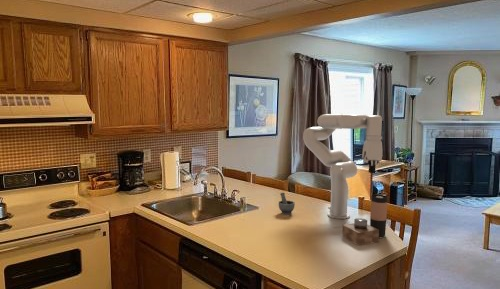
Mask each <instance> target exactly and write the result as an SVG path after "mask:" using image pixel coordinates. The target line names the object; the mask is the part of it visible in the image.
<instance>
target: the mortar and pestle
mask: <svg viewBox="0 0 500 289" xmlns="http://www.w3.org/2000/svg"><path fill="white" fill-rule="evenodd" d="M279 194H280V198H281V200H280V201H278V208H279V210H280V211H281V215H283V216H292V215H293V214H292V213H293V212H294V210H295V205H296V202H295V201H292V200H287V198H286V194H285V192H281V193H279Z"/></svg>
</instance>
